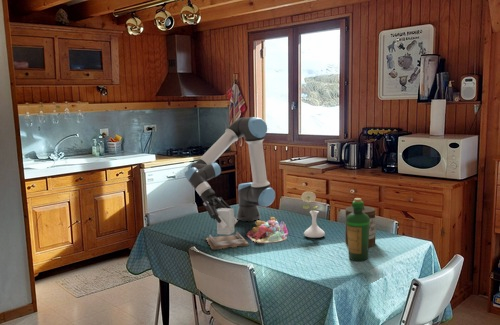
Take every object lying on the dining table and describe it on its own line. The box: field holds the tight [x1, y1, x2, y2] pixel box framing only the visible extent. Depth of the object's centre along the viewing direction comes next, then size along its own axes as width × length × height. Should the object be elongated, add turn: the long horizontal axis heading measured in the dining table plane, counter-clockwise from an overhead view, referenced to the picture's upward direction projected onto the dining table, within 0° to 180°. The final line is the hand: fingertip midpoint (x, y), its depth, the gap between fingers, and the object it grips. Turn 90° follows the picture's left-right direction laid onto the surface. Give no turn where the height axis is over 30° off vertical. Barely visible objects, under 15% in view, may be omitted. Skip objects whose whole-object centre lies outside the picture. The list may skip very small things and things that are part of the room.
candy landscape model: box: [245, 216, 289, 244], centre depth 258 cm, size 25×24×9 cm
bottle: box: [345, 197, 370, 262], centre depth 215 cm, size 11×11×28 cm
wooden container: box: [344, 202, 376, 248], centre depth 237 cm, size 15×15×22 cm
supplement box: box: [216, 207, 235, 236], centre depth 246 cm, size 7×7×13 cm
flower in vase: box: [300, 190, 326, 239], centre depth 253 cm, size 13×11×25 cm
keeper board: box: [205, 231, 250, 251], centre depth 248 cm, size 19×18×3 cm
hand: (230, 224), depth 245 cm, fingers closed on supplement box, 9 cm apart
